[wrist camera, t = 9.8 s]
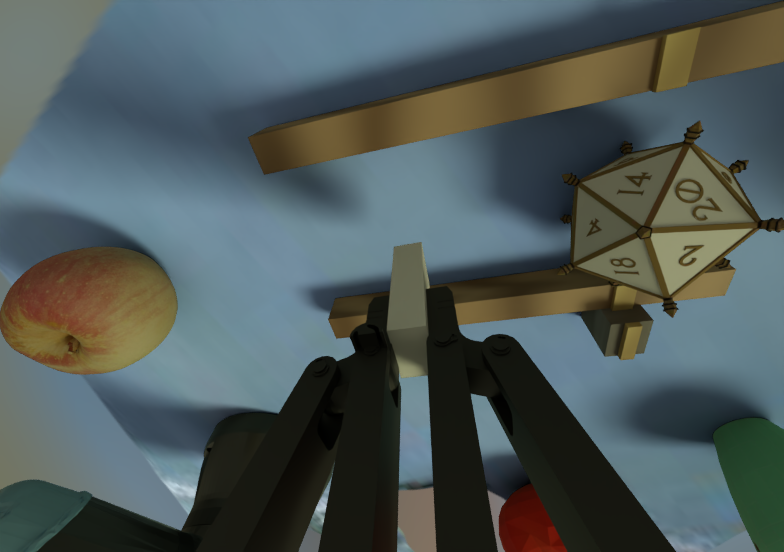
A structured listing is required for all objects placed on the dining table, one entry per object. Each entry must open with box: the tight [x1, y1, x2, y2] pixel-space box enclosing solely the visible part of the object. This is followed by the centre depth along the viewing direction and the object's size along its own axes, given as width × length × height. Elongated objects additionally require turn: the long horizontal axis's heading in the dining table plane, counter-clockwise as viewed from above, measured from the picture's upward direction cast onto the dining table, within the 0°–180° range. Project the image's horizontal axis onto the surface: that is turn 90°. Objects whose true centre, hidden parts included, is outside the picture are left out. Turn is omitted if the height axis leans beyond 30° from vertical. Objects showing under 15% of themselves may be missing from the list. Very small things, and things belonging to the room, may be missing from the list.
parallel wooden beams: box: [248, 1, 784, 360], centre depth 20 cm, size 26×18×4 cm
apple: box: [0, 247, 178, 375], centre depth 23 cm, size 9×9×8 cm
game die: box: [557, 121, 784, 318], centre depth 17 cm, size 9×8×10 cm
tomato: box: [499, 483, 567, 552], centre depth 38 cm, size 14×16×10 cm
